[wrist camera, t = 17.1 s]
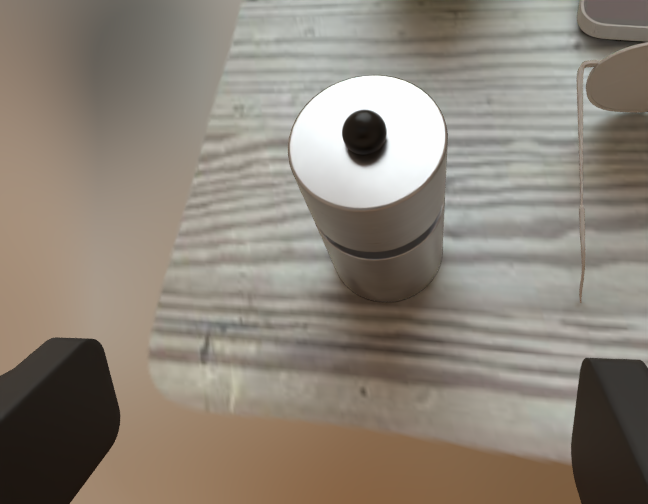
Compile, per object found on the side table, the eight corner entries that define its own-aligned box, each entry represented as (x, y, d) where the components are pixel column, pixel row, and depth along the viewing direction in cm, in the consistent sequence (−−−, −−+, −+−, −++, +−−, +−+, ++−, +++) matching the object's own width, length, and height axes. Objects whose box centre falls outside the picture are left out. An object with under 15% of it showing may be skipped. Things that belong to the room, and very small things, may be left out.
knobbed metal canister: (464, 267, 22) (484, 137, 13) (366, 322, 21) (326, 225, 13) (405, 184, 23) (392, 26, 15) (314, 235, 23) (253, 102, 15)
